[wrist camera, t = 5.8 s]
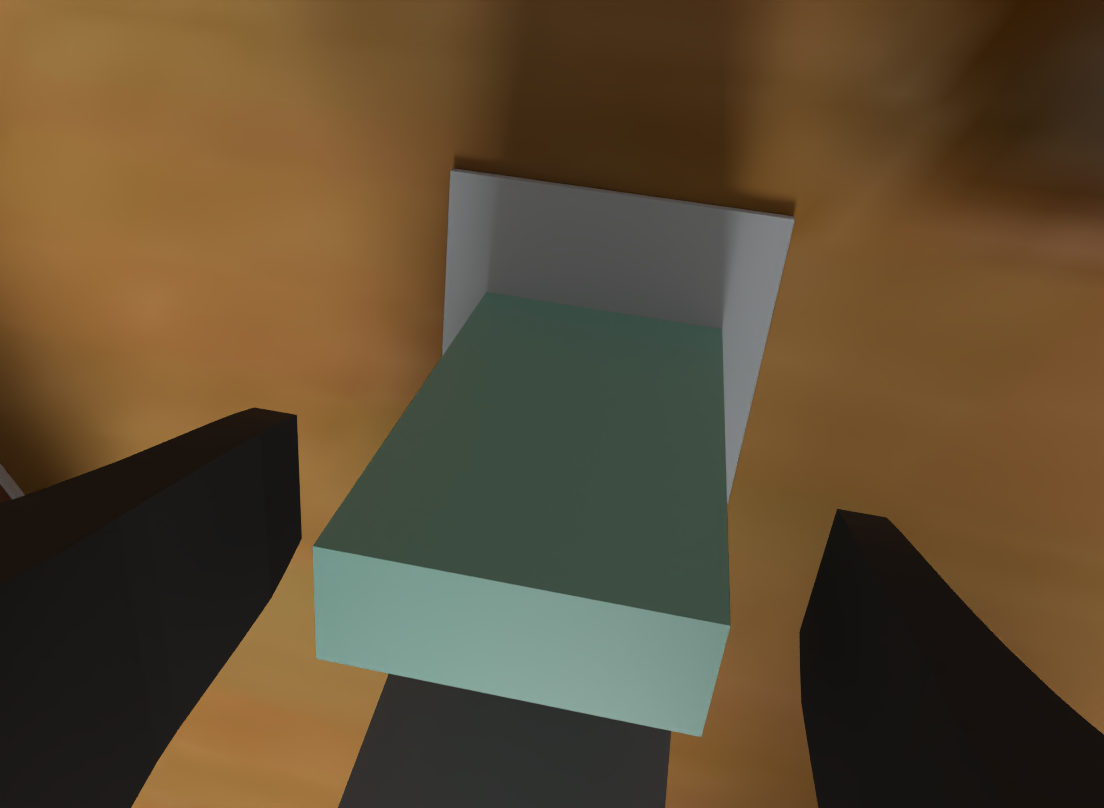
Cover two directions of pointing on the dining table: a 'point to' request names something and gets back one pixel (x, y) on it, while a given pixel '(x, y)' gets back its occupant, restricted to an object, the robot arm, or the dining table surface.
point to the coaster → (621, 265)
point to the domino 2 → (501, 754)
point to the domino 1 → (545, 520)
